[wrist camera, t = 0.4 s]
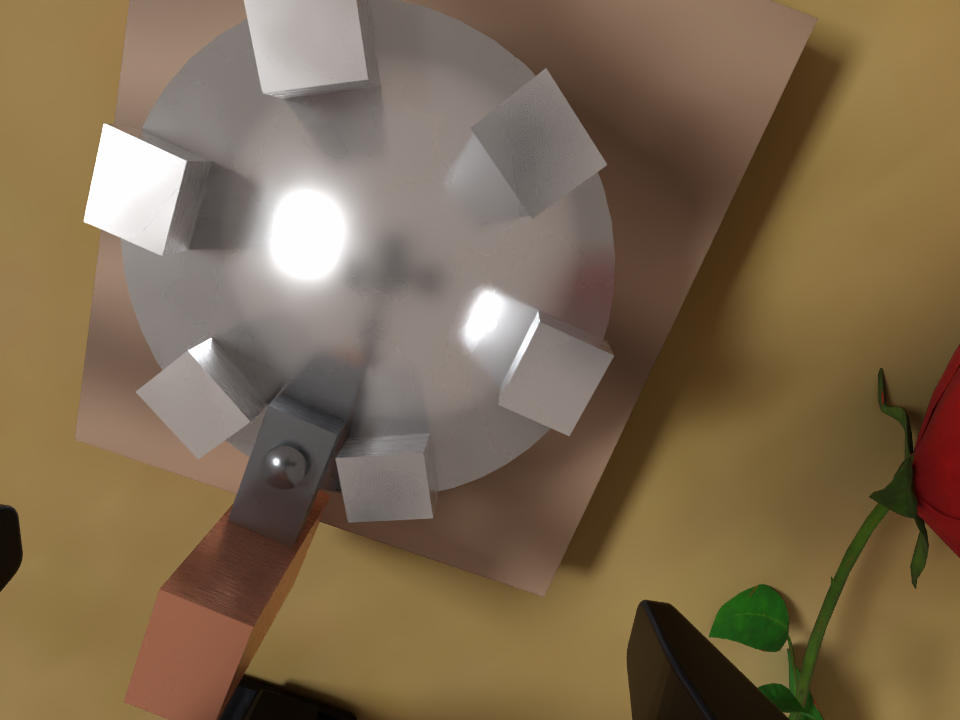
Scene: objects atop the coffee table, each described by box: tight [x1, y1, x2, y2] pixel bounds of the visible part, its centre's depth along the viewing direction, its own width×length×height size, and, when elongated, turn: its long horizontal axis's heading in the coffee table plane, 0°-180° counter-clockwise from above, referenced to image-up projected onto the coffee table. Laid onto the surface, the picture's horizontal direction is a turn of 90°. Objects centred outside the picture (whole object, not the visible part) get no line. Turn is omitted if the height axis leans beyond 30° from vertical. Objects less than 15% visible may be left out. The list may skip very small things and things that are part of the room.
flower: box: [709, 345, 960, 720], centre depth 19 cm, size 9×9×30 cm
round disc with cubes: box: [84, 0, 615, 720], centre depth 16 cm, size 18×13×7 cm
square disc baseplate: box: [75, 0, 818, 597], centre depth 19 cm, size 20×18×2 cm
